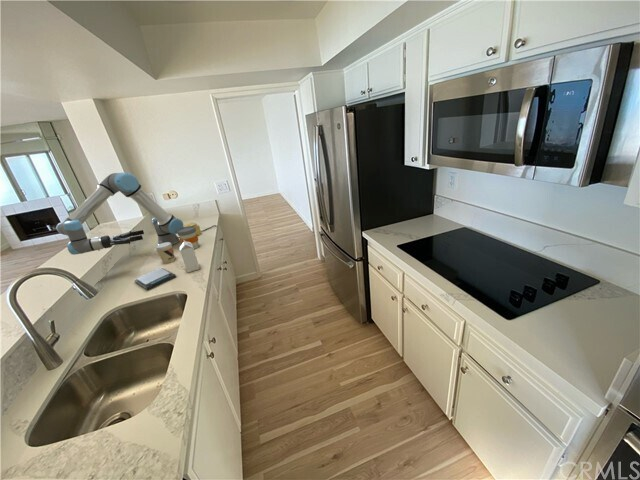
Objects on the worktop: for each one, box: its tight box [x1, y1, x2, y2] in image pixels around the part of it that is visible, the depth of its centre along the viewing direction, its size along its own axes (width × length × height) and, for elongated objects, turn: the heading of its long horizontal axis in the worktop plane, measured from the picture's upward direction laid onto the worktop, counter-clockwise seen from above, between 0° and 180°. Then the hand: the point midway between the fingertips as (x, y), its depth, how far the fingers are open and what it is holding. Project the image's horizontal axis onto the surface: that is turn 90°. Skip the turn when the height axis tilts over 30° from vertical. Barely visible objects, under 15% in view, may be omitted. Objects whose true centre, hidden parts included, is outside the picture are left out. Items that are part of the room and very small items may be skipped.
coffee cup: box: [155, 242, 176, 264], centre depth 178 cm, size 9×9×12 cm
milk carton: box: [179, 241, 201, 273], centre depth 161 cm, size 7×7×19 cm
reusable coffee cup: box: [177, 226, 199, 250], centre depth 196 cm, size 13×13×15 cm
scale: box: [134, 267, 177, 292], centre depth 157 cm, size 16×18×3 cm
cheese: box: [183, 222, 203, 236], centre depth 221 cm, size 10×11×10 cm
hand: (143, 234), depth 169 cm, fingers open, 13 cm apart
